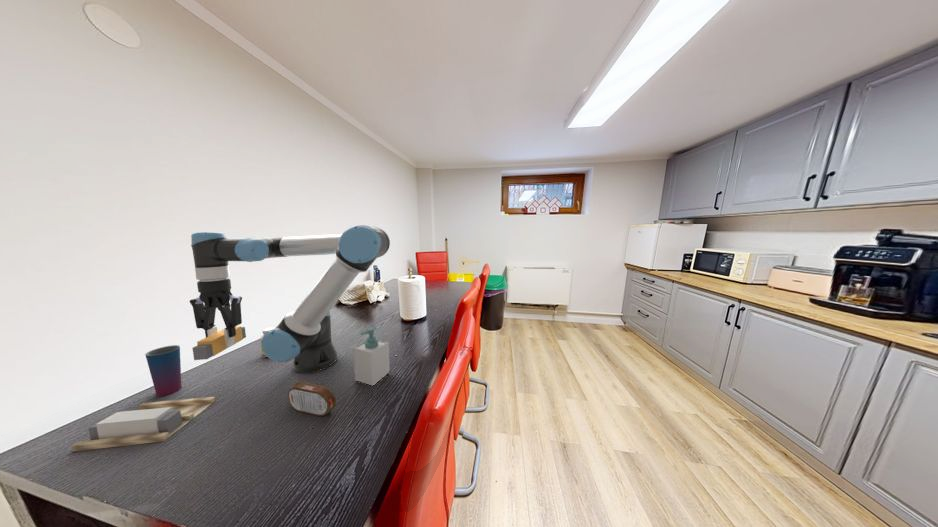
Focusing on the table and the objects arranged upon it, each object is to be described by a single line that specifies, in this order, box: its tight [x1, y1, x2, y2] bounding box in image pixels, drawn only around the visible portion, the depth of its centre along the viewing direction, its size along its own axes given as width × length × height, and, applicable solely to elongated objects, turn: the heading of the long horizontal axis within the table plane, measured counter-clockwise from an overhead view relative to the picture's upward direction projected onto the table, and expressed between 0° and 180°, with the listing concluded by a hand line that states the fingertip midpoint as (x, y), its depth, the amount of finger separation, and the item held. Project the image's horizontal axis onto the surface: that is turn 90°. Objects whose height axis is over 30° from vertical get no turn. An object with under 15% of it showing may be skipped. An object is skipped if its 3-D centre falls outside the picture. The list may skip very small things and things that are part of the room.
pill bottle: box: [260, 326, 277, 358], centre depth 103 cm, size 6×6×12 cm
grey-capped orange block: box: [192, 325, 247, 361], centre depth 81 cm, size 16×4×5 cm, turn 10°
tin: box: [287, 381, 337, 417], centre depth 70 cm, size 15×3×8 cm, turn 77°
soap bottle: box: [353, 326, 391, 387], centre depth 87 cm, size 9×9×19 cm
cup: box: [144, 344, 182, 397], centre depth 77 cm, size 7×7×15 cm
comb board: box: [71, 396, 216, 452], centre depth 65 cm, size 18×15×2 cm
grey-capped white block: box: [88, 407, 182, 440], centre depth 61 cm, size 16×4×5 cm, turn 100°
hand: (222, 346), depth 81 cm, fingers closed on grey-capped orange block, 4 cm apart
